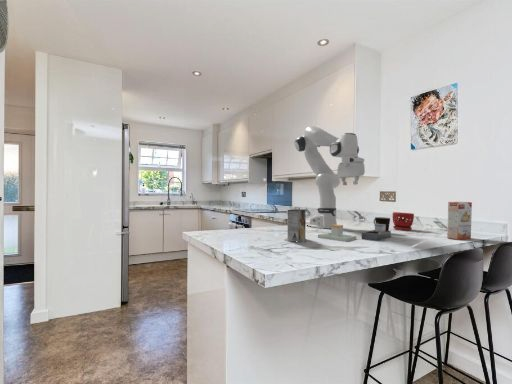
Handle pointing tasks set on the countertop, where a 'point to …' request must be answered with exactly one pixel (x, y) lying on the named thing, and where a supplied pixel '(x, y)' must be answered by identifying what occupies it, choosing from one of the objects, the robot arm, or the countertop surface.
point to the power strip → (375, 235)
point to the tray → (345, 237)
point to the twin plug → (380, 227)
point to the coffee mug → (382, 221)
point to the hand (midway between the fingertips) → (350, 184)
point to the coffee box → (296, 224)
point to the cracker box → (459, 220)
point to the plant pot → (403, 221)
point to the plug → (337, 230)
